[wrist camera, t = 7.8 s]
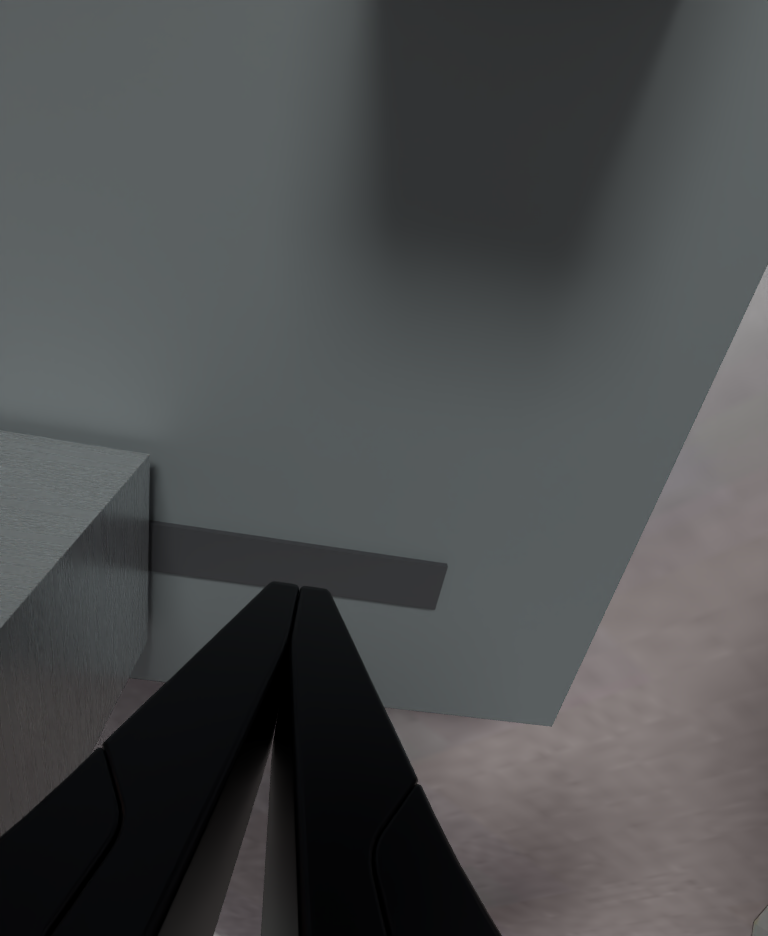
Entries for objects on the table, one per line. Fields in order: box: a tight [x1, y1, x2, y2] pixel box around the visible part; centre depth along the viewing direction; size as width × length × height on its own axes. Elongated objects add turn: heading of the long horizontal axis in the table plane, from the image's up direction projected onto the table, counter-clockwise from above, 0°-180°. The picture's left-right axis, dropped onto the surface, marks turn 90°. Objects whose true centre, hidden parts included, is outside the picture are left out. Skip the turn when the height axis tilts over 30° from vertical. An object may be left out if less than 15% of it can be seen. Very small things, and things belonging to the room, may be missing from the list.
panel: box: [0, 0, 768, 726], centre depth 7 cm, size 18×17×3 cm
